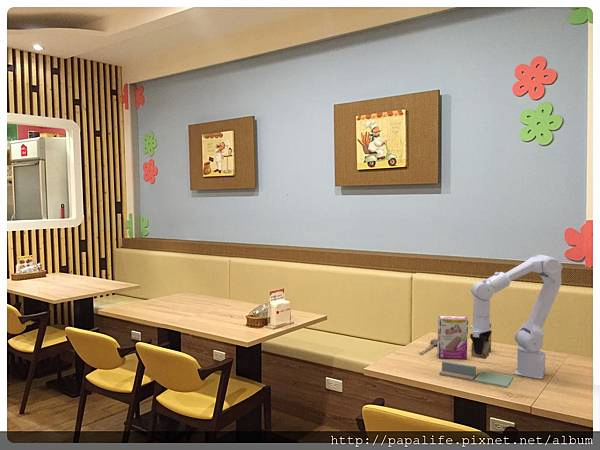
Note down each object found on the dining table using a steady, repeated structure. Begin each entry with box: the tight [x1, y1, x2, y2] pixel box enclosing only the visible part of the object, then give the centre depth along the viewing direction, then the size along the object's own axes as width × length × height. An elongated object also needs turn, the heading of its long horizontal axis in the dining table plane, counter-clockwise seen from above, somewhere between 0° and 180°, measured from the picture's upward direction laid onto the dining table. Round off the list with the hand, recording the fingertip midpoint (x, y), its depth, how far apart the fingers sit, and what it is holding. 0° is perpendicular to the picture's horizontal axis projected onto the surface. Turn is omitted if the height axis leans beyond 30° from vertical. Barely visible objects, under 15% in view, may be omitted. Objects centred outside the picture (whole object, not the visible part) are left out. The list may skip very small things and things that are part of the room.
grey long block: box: [438, 360, 477, 382], centre depth 195 cm, size 12×4×4 cm, turn 58°
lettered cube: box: [470, 341, 490, 360], centre depth 197 cm, size 5×5×5 cm
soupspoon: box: [418, 338, 438, 356], centre depth 229 cm, size 22×3×7 cm
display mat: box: [473, 370, 514, 388], centre depth 192 cm, size 11×11×1 cm
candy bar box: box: [436, 315, 469, 360], centre depth 216 cm, size 11×5×16 cm, turn 84°
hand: (480, 352), depth 197 cm, fingers closed on lettered cube, 5 cm apart
